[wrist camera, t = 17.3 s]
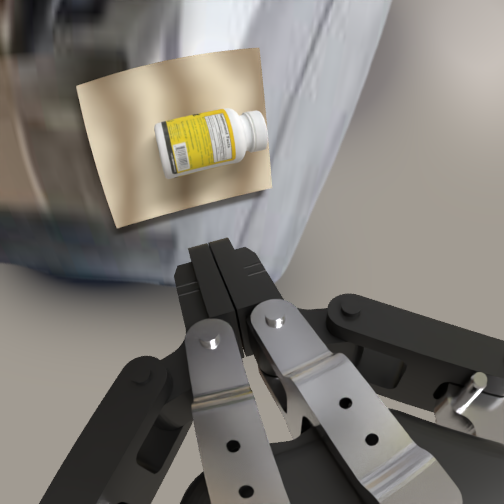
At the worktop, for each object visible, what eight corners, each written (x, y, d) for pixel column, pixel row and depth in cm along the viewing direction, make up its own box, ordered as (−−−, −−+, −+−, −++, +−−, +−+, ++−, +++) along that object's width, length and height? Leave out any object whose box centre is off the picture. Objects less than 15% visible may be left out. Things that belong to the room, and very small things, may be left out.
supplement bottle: (156, 140, 29) (248, 121, 31) (166, 188, 29) (263, 166, 31) (150, 112, 24) (258, 93, 26) (161, 166, 23) (276, 142, 25)
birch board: (117, 222, 33) (116, 228, 31) (79, 85, 23) (76, 86, 22) (267, 183, 36) (272, 187, 35) (254, 48, 27) (259, 47, 26)
